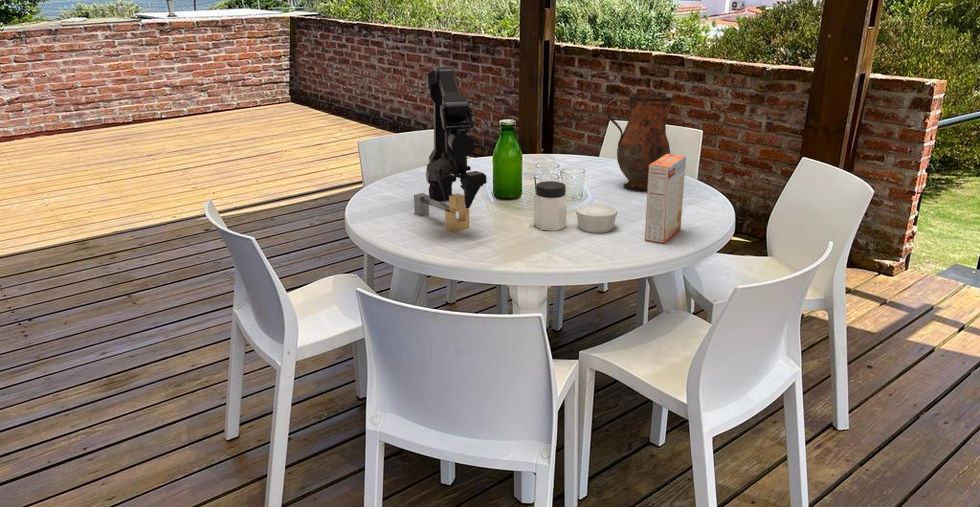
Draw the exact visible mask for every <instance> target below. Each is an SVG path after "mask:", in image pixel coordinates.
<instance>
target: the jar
mask: <svg viewBox="0 0 980 507" xmlns="http://www.w3.org/2000/svg"><path fill="white" fill-rule="evenodd" d="M566 192H567V189H566V184H565V183H563V182H560V181H555V180H554V181H551V180H549V181H548V180H547V181H546V180H545V181H541V182H537V183H536V184H535V193H534V194H533V227H535V228H537V229H538V228H539V229H538V230H540V231H542V230H548V231H549V232H550V231H551V232H558V231H560V230H562V229H563V228H566V227H567V207H568V206H567V202H568V199H567V198H568V194H566Z"/></svg>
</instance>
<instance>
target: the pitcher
mask: <svg viewBox="0 0 980 507" xmlns="http://www.w3.org/2000/svg"><path fill="white" fill-rule="evenodd" d="M674 100H675V98H674V97H670V96H664V95H663V96H662V95H657V94H653V93H648V92H647V93H645V92H636V93H632V94H630V95H629V98H626V97H616V98H613V99H612V100H610V101H609V102H608V103H606V106H605V114H606V116H607V119H609V120H610V122H611V123H613V125H614V126H616V128H617V129H618V130H619V131H620V136H619V140H618V144H617V149H616V157H617V163H618V164H617V165H618V166H619V169H620V171H621V173H622V174H623V175H624V176H625V178H626V179H627V182H626V183H624V184H623V188H624V189H626V190H628V191H632V192H639V191H640V192H641V193H643V191H647V189H648V171H649V165H650V164H651V163H653V162H655V161H656V160H658V159H659V158H661V157H662V156H664V155H666V154H672V153H671V148H670V142H669V140H668V137H667V132H666V130H667V129H666V128H667V127H666V126H667V125H666V124H667V119H668V115H669V112H670V110H671V105H672V103H673V102H674ZM620 101H626V102H629V108H630V109H629V115H628V122H627V123H626V126H625V128H624V130H622V128H621V126H620V125H619V124H618V122H616V120H614V119H613V117H611V115H610V113H609V108H610V107H611V105H612V104H613V103H615V102H620Z"/></svg>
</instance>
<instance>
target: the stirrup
mask: <svg viewBox="0 0 980 507" xmlns="http://www.w3.org/2000/svg"><path fill="white" fill-rule="evenodd" d="M448 201H449V202H448V205H449V209H450V210H444V219H445V221H444V222H445V225H444V227H445V230H446V231H448V232H450V233H454V232H458V231H462V230H466V229H469V228H470V208H468V209H467V208H466V206H465V198H464V194H461V193H454V194H453V193H452V195H449V200H448ZM457 212H458V218H457Z"/></svg>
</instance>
